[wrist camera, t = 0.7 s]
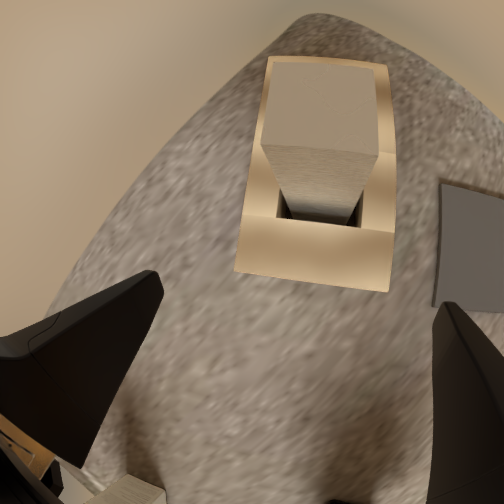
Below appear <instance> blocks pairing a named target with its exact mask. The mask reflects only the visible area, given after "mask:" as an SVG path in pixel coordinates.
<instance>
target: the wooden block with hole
mask: <svg viewBox="0 0 504 504" xmlns="http://www.w3.org/2000/svg"><path fill="white" fill-rule="evenodd" d="M273 62H305V63H324V64H336V65H346V66H355V67H362V68H369V69H373V70H374V79H375V89H376V101H377V115H378V138H379V156H378V159H377V161H376V163H375V165H374V167H373V170H372V172H371V174H370V176H369V178H368V181H367V183H366V185H365V187H364V189H363V191H362V193H361V195H360V197H359V199H358V201H357V204H356V215H355V227H349V226H342V225H334V224H326V223H318V222H309V221H301V220H292V219H285V213H286V205H287V202H286V200H285V198H284V195H283V193H282V191H281V189H280V186H279V184H278V182H277V180H276V177H275V175H274V173H273V171H272V169H271V166H270V164H269V162H268V160H267V158H266V155H265V153H264V151H263V149H262V147H261V145H260V142H261V136H262V130H263V123H264V117H265V111H266V105H267V98H268V92H269V86H270V80H271V74H272V68H273ZM395 215H396V146H395V129H394V116H393V106H392V97H391V89H390V82H389V75H388V69H387V65H383V64H377V63H371V62H364V61H357V60H349V59H339V58H327V57H311V56H269V57H268V63H267V68H266V74H265V80H264V85H263V91H262V97H261V102H260V108H259V114H258V120H257V126H256V132H255V138H254V144H253V150H252V156H251V162H250V168H249V174H248V180H247V187H246V193H245V199H244V206H243V212H242V218H241V225H240V231H239V238H238V245H237V251H236V258H235V265H234V271H236V272H243V273H249V274H256V275H263V276H270V277H276V278H283V279H290V280H297V281H305V282H312V283H319V284H326V285H334V286H341V287H349V288H357V289H365V290H373V291H381V292H388V290H389V283H390V275H391V266H392V257H393V246H394V233H395Z"/></svg>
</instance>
